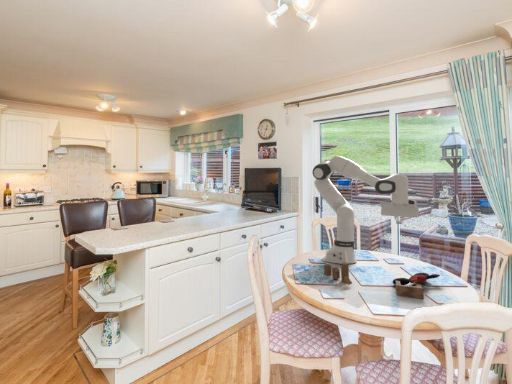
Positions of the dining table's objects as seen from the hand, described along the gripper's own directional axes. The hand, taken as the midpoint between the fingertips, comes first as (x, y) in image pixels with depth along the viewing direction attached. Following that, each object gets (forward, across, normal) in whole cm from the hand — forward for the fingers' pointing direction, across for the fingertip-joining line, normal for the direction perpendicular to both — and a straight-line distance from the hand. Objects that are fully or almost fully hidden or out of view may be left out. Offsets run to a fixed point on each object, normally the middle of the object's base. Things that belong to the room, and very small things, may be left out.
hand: (398, 223), depth 163 cm
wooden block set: (+32, -30, -24) cm, 50 cm away
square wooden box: (+31, +3, -29) cm, 43 cm away
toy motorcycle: (+30, +3, -11) cm, 33 cm away
